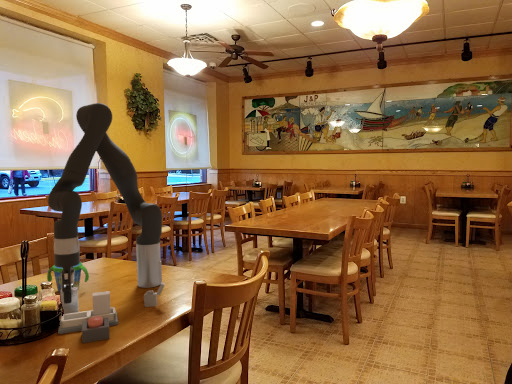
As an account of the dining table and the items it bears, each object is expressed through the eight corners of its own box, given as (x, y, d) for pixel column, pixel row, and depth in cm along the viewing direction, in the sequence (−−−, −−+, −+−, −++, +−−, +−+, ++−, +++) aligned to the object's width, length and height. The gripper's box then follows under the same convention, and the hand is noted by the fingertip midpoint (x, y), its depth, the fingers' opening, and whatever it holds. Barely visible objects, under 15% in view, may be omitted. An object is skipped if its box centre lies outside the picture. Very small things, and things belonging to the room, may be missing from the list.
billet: (78, 309, 130) (77, 286, 130) (78, 312, 128) (77, 289, 127) (62, 312, 129) (61, 288, 128) (61, 315, 126) (60, 291, 125)
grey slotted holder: (116, 313, 127) (115, 287, 126) (117, 324, 118) (116, 296, 118) (61, 322, 120) (59, 294, 120) (58, 334, 112) (56, 304, 111)
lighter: (144, 306, 133) (143, 284, 132) (145, 304, 134) (144, 282, 134) (165, 305, 133) (164, 283, 133) (165, 303, 135) (165, 281, 134)
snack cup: (94, 286, 154) (93, 261, 154) (78, 295, 144) (77, 269, 143) (59, 284, 157) (58, 260, 156) (41, 293, 146) (39, 267, 146)
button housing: (108, 328, 115) (108, 317, 115) (109, 338, 109) (109, 326, 109) (83, 332, 113) (82, 321, 113) (82, 343, 106) (81, 331, 106)
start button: (103, 323, 113) (102, 315, 113) (103, 328, 110) (103, 320, 109) (88, 325, 112) (88, 317, 112) (88, 331, 108) (87, 322, 108)
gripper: (78, 254, 121) (80, 304, 122) (80, 245, 134) (82, 290, 136) (51, 256, 118) (53, 308, 120) (56, 247, 132) (58, 293, 133)
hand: (68, 298), depth 128 cm, fingers open, 8 cm apart
